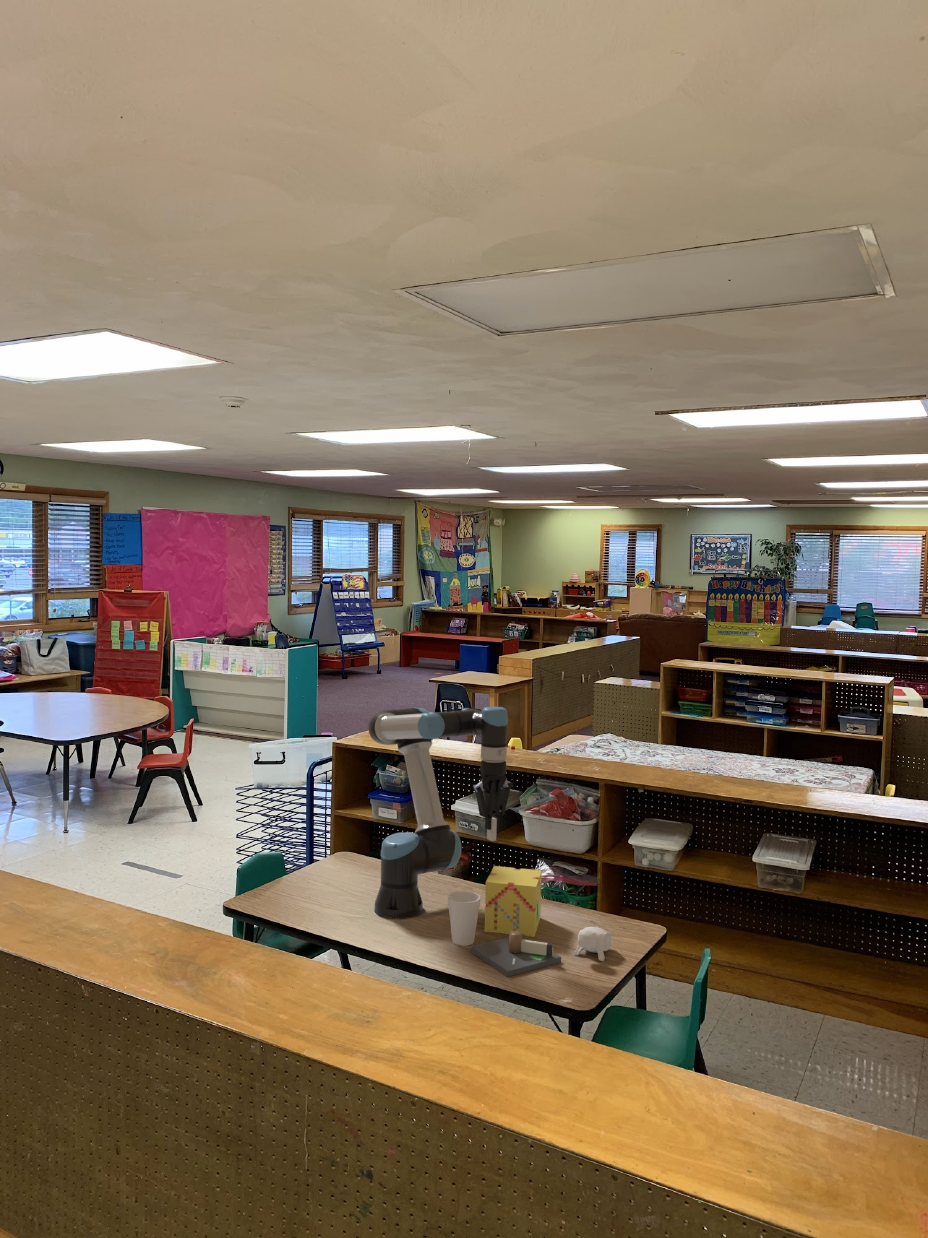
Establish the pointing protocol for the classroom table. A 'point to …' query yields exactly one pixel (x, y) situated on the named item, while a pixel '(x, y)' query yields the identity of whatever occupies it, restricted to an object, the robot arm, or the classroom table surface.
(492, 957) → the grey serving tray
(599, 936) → the white footed figurine
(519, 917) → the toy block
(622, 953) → the classroom table surface
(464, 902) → the foam cup
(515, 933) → the tuning lever
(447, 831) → the robot arm
